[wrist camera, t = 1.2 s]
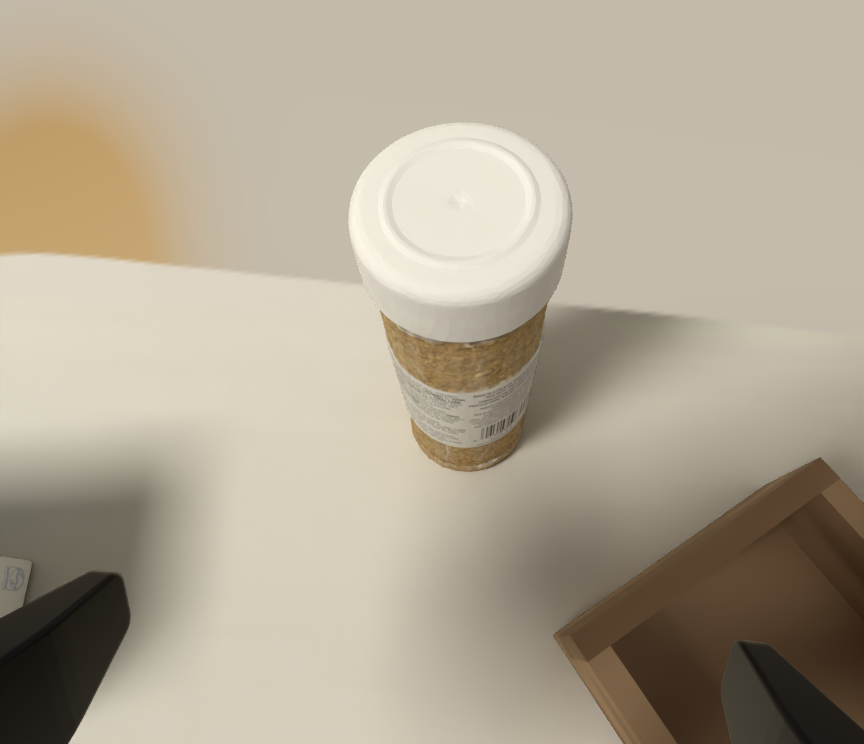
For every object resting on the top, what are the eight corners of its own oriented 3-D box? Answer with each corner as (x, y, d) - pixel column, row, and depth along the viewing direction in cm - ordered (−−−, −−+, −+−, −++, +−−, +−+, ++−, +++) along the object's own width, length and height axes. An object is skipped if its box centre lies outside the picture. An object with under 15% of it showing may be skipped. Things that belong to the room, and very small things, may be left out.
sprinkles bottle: (487, 350, 25) (501, 82, 13) (545, 442, 24) (624, 233, 11) (390, 399, 25) (308, 166, 12) (442, 497, 23) (406, 340, 11)
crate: (988, 742, 19) (1112, 768, 15) (754, 945, 17) (830, 1029, 14) (763, 486, 22) (820, 457, 19) (553, 635, 21) (570, 635, 17)
